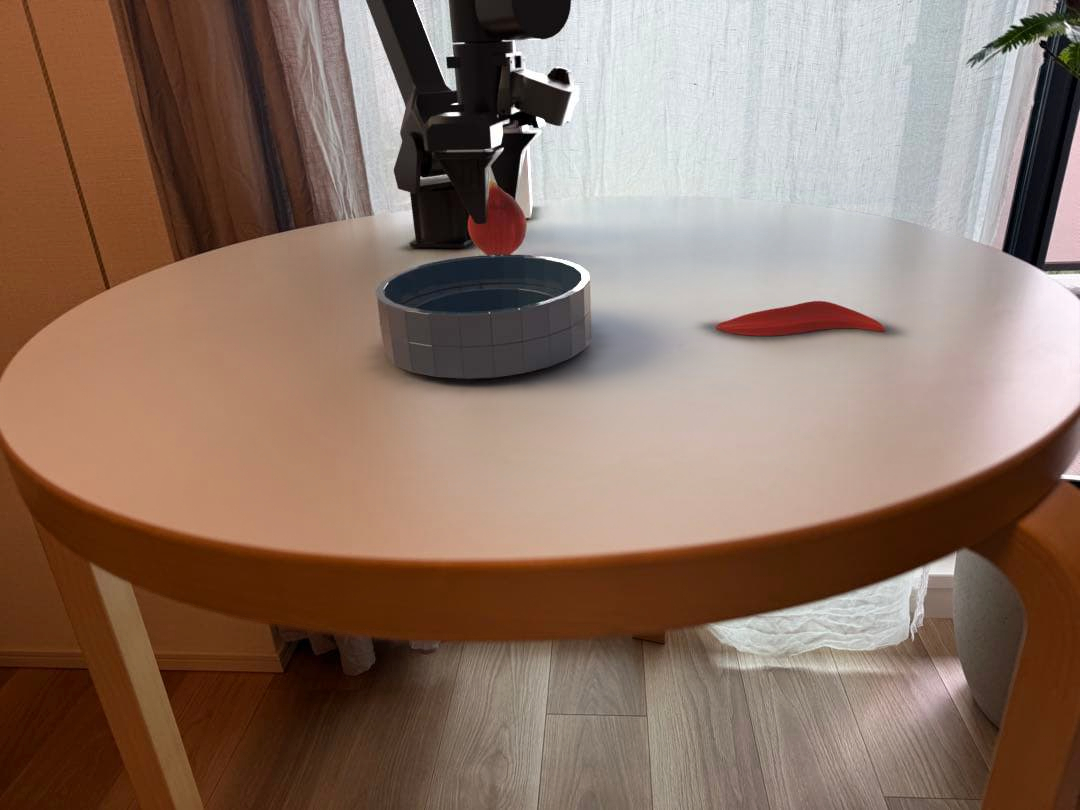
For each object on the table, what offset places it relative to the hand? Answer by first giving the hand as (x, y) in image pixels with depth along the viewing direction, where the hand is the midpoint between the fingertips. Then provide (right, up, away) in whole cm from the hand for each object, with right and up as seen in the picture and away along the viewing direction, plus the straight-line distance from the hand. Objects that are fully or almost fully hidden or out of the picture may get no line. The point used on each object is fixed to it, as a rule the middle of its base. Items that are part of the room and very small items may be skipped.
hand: (496, 213), depth 82 cm
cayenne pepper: (+24, -13, -21) cm, 34 cm away
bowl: (+1, -15, -21) cm, 26 cm away
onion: (0, -5, +2) cm, 5 cm away
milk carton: (0, +5, +24) cm, 24 cm away
